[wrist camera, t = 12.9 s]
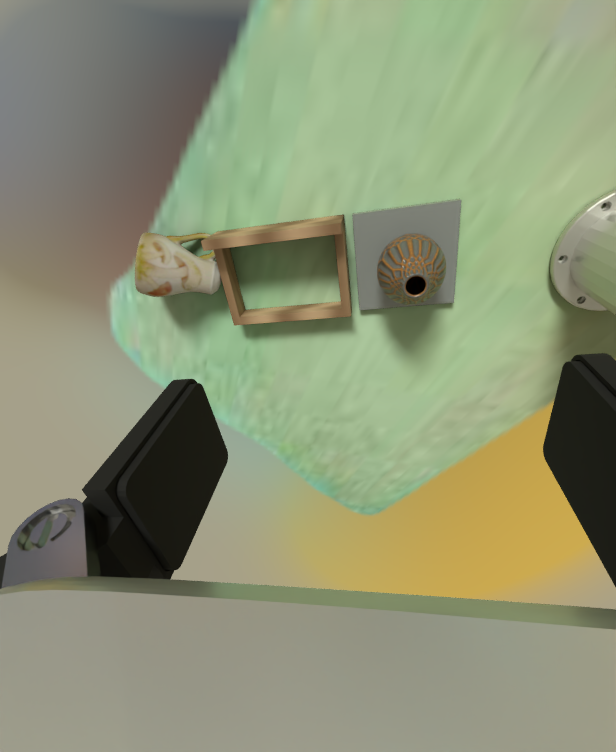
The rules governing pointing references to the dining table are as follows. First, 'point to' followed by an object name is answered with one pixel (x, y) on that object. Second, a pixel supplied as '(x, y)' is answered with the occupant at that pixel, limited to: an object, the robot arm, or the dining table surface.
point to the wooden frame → (276, 233)
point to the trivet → (391, 223)
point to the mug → (174, 267)
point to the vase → (411, 269)
